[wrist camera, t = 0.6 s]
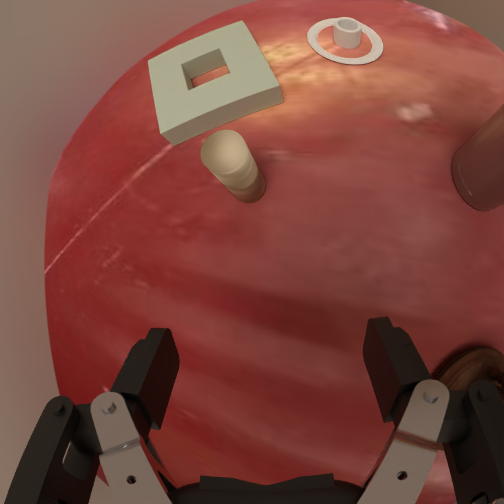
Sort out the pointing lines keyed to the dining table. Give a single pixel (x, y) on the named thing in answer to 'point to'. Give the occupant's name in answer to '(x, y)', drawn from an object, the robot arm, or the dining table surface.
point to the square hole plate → (211, 83)
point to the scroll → (473, 371)
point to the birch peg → (233, 165)
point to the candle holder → (346, 39)
